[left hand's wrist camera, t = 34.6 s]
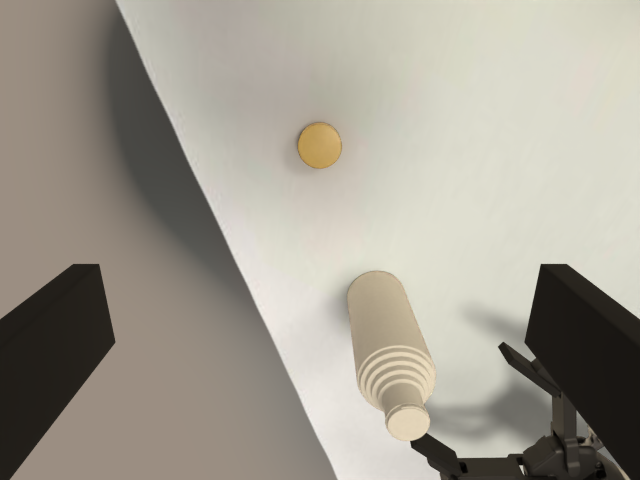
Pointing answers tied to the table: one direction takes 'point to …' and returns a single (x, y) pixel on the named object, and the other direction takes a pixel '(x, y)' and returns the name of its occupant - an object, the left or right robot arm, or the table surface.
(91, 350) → the left robot arm
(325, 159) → the cap
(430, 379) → the bottle
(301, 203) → the table surface
